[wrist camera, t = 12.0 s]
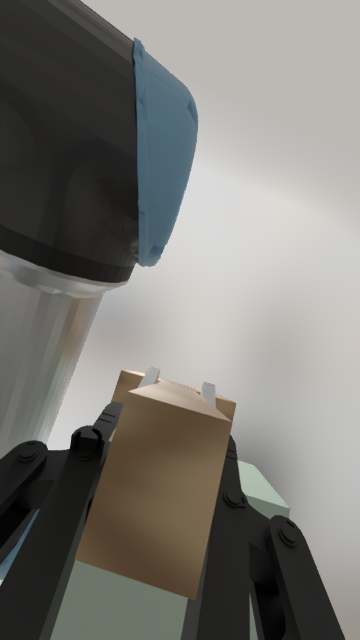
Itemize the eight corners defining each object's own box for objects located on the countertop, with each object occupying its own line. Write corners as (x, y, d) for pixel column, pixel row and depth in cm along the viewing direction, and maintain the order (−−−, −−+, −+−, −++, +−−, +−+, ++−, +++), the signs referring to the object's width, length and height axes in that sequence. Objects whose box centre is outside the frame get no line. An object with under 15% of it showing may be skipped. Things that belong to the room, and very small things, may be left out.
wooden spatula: (-59, 514, 6) (11, 357, 7) (128, 405, 28) (138, 372, 29) (346, 652, 5) (361, 459, 6) (210, 429, 27) (217, 394, 28)
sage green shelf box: (-41, 893, 17) (103, 449, 23) (45, 691, 27) (127, 426, 34) (216, 1009, 16) (290, 508, 22) (201, 751, 26) (254, 465, 33)
